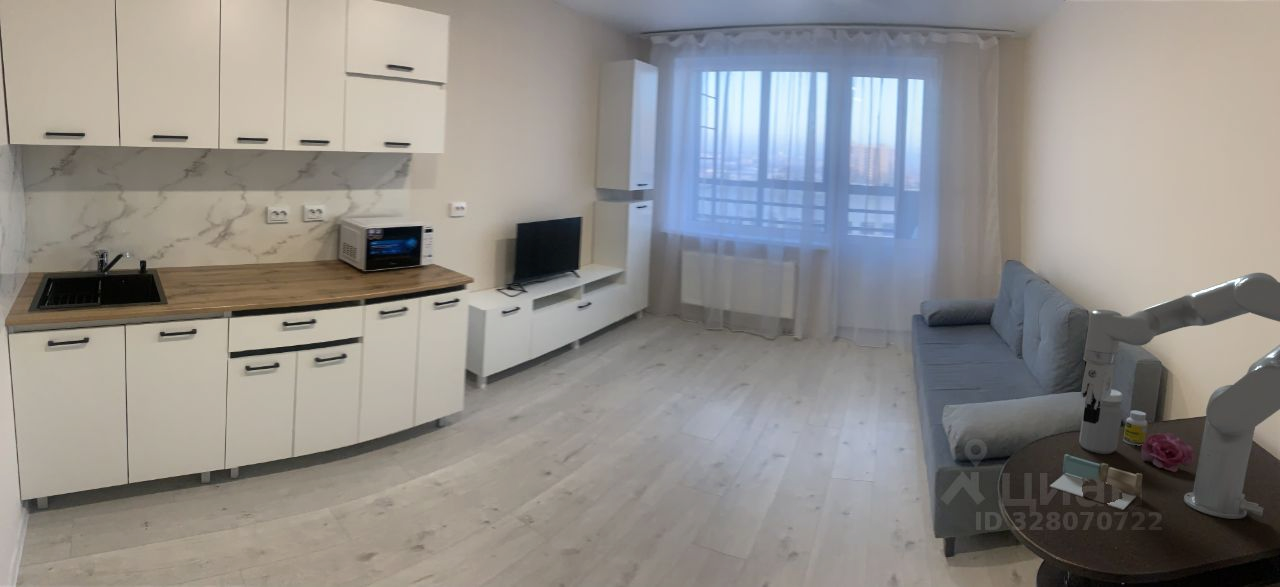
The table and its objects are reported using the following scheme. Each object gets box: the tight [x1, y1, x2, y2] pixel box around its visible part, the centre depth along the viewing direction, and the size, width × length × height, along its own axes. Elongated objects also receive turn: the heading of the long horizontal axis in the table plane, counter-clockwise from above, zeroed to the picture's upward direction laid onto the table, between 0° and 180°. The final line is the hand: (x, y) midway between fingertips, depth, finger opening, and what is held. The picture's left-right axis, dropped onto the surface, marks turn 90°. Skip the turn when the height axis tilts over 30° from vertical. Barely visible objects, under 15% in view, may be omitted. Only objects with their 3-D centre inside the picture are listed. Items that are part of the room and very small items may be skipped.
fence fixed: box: [1099, 462, 1143, 498], centre depth 197 cm, size 9×2×6 cm, turn 44°
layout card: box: [1049, 473, 1137, 511], centre depth 198 cm, size 17×15×1 cm
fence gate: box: [1062, 453, 1102, 479], centre depth 203 cm, size 9×1×5 cm, turn 44°
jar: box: [1078, 388, 1123, 455], centre depth 224 cm, size 10×10×18 cm
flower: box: [1140, 432, 1195, 473], centre depth 214 cm, size 11×10×10 cm
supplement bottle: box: [1122, 409, 1148, 447], centre depth 230 cm, size 5×5×10 cm
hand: (1090, 421), depth 205 cm, fingers closed
